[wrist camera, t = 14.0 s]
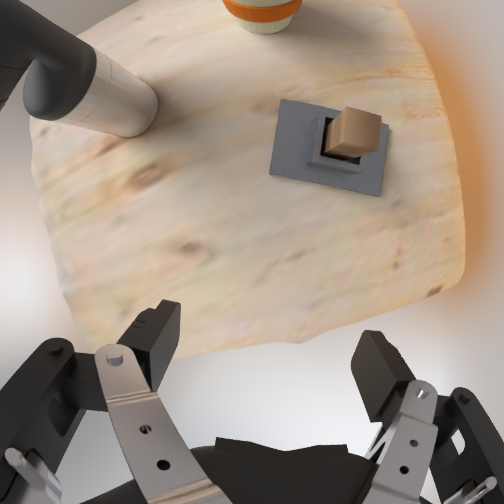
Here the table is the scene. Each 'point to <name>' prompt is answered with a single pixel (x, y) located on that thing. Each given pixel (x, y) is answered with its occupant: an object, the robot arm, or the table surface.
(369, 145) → the brown square block
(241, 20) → the reusable coffee cup
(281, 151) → the grey square tube bracket
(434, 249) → the table surface
